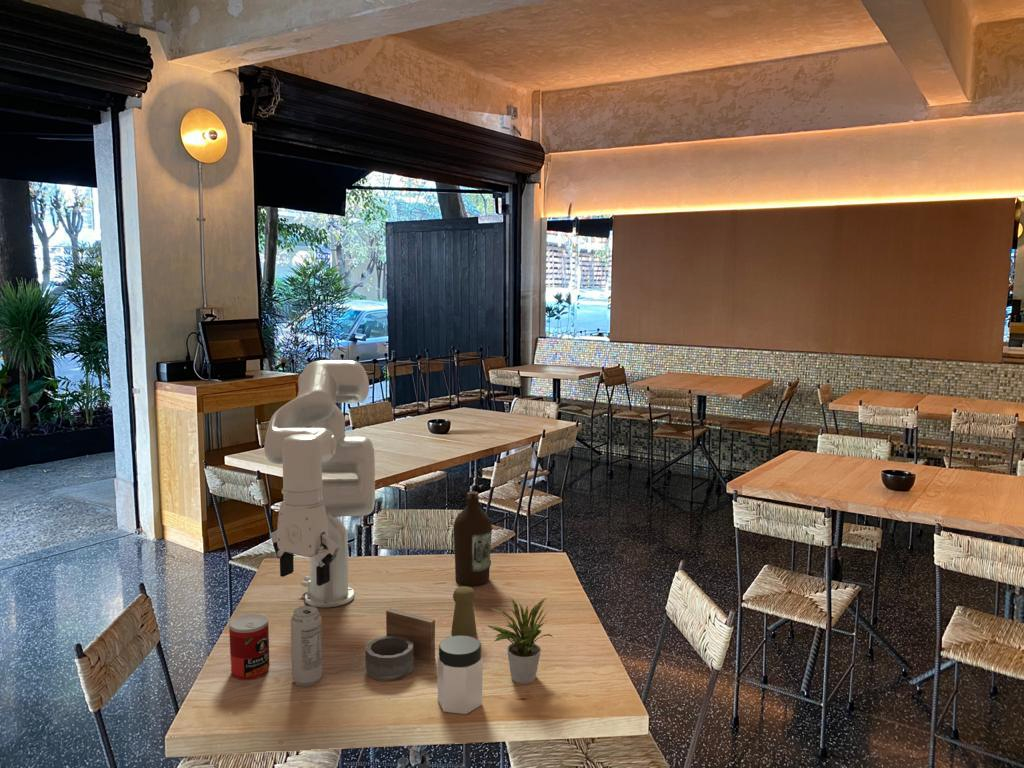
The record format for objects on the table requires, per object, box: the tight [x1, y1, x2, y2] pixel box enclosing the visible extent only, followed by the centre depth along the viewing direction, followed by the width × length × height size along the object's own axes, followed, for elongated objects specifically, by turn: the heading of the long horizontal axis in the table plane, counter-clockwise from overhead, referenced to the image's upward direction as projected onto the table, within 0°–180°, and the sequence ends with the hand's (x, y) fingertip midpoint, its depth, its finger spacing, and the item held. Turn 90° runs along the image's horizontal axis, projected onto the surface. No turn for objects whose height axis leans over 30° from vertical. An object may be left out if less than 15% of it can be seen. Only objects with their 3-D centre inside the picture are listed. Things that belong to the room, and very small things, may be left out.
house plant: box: [487, 596, 553, 685], centre depth 156 cm, size 14×14×16 cm
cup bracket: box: [364, 608, 436, 682], centre depth 160 cm, size 13×12×9 cm
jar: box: [437, 635, 484, 715], centre depth 145 cm, size 9×8×12 cm
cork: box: [450, 585, 477, 638], centre depth 175 cm, size 6×6×11 cm
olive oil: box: [452, 490, 493, 587], centre depth 207 cm, size 11×11×25 cm
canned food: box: [228, 613, 270, 681], centre depth 157 cm, size 8×8×11 cm
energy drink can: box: [290, 605, 323, 687], centre depth 153 cm, size 6×6×15 cm
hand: (304, 579), depth 151 cm, fingers open, 9 cm apart
